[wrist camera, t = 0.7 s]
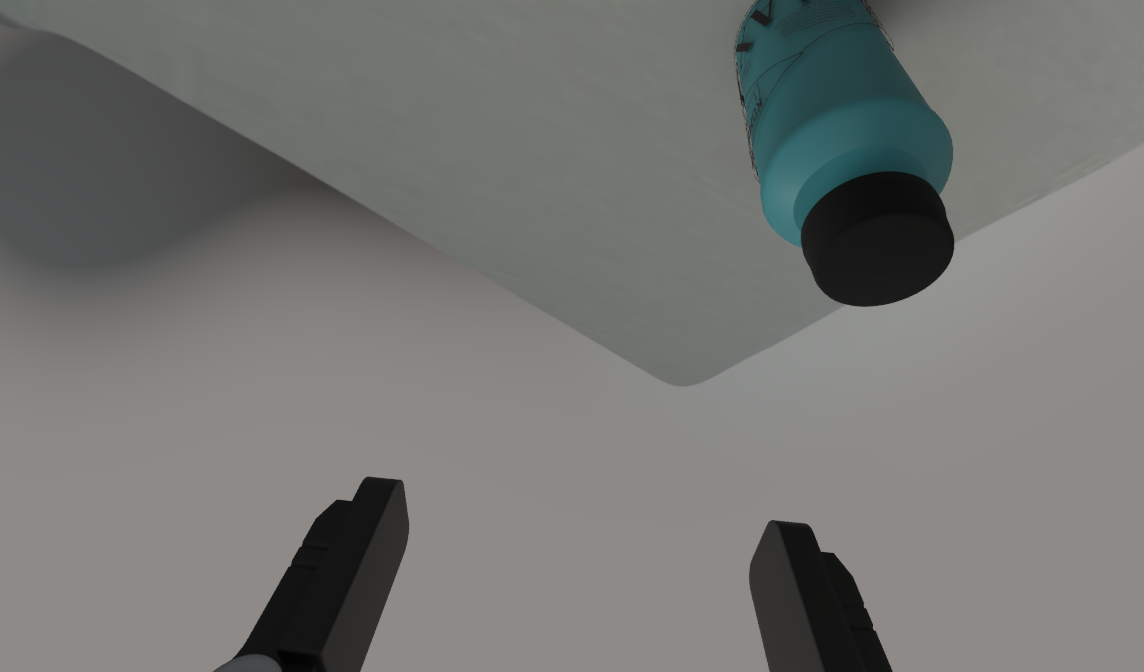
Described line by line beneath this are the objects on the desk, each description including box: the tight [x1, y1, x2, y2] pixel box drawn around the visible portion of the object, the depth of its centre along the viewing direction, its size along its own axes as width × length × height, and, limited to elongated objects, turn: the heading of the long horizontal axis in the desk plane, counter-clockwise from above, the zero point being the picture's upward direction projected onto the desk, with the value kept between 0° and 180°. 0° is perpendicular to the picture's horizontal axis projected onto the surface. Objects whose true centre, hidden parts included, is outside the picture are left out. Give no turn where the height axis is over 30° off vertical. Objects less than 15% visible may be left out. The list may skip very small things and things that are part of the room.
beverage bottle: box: [734, 0, 954, 307], centre depth 22 cm, size 6×7×20 cm
